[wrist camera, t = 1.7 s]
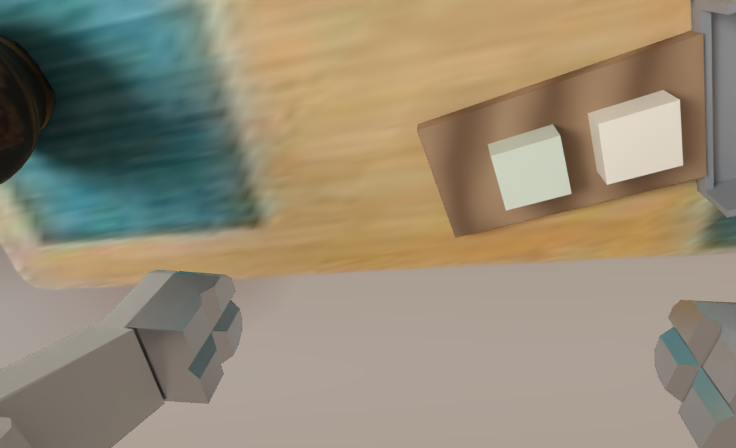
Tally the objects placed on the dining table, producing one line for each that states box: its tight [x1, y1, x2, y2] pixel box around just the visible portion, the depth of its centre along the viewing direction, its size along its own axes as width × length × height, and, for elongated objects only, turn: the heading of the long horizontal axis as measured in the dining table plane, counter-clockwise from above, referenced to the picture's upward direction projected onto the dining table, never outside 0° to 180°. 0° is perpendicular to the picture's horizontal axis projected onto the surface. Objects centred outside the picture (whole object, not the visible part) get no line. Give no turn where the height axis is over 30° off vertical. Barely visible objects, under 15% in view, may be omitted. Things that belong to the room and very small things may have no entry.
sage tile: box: [488, 124, 572, 211], centre depth 33 cm, size 5×5×2 cm
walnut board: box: [417, 31, 707, 238], centre depth 34 cm, size 20×11×2 cm, turn 112°
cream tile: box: [588, 90, 683, 185], centre depth 31 cm, size 5×5×2 cm
